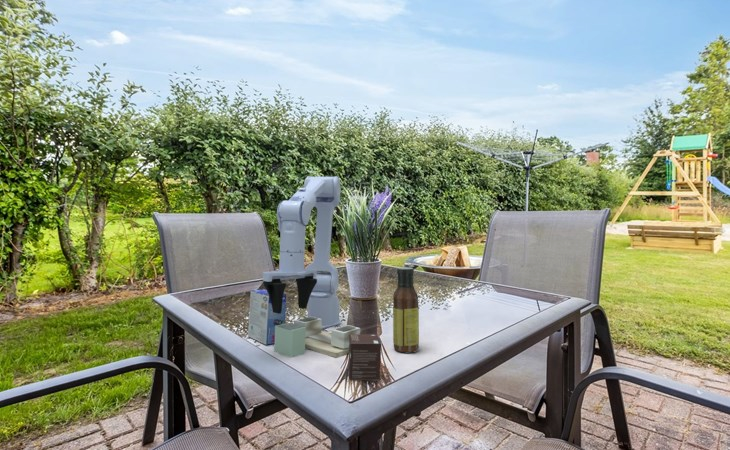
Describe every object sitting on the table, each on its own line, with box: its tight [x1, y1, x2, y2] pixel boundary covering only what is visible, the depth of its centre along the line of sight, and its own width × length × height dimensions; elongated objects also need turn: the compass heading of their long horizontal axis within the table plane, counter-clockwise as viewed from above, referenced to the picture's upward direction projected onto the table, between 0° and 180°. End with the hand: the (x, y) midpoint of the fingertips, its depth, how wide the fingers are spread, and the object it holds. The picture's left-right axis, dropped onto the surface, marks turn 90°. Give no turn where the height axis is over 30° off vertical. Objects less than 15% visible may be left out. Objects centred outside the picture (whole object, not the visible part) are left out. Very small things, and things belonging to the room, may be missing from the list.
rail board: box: [293, 317, 361, 359], centre depth 95 cm, size 11×17×5 cm, turn 52°
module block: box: [273, 322, 306, 358], centre depth 88 cm, size 4×6×6 cm, turn 52°
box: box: [347, 333, 382, 382], centre depth 76 cm, size 6×6×7 cm
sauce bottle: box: [392, 266, 420, 353], centre depth 92 cm, size 7×6×20 cm
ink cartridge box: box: [247, 289, 287, 346], centre depth 97 cm, size 10×6×14 cm, turn 44°
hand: (290, 310), depth 88 cm, fingers open, 7 cm apart
